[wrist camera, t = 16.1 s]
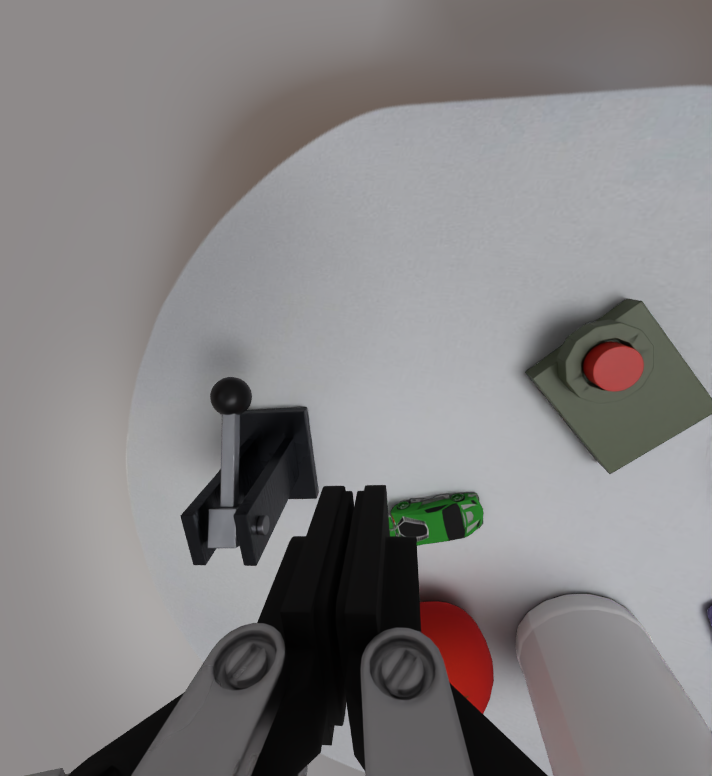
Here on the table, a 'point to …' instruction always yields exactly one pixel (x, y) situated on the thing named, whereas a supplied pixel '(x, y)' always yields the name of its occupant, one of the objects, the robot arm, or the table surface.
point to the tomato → (460, 650)
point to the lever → (228, 459)
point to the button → (613, 366)
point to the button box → (630, 406)
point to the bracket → (259, 481)
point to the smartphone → (710, 614)
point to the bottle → (607, 693)
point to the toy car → (437, 518)
